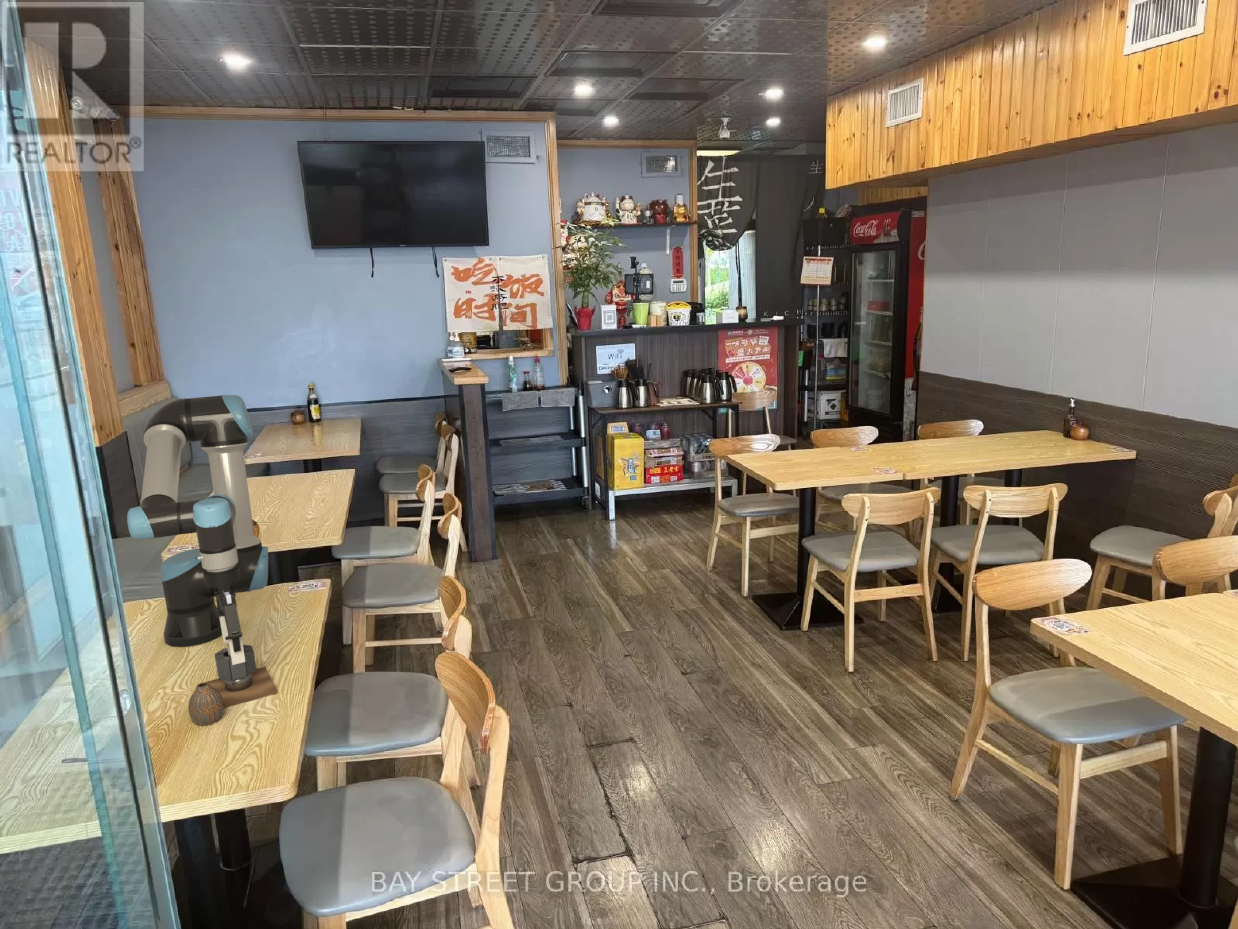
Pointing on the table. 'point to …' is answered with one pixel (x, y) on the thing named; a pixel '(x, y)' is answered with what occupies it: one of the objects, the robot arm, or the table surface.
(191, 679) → the table surface
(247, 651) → the ring
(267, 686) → the base board
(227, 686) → the shaft
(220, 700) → the vase
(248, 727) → the table surface
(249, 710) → the table surface
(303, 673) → the table surface
